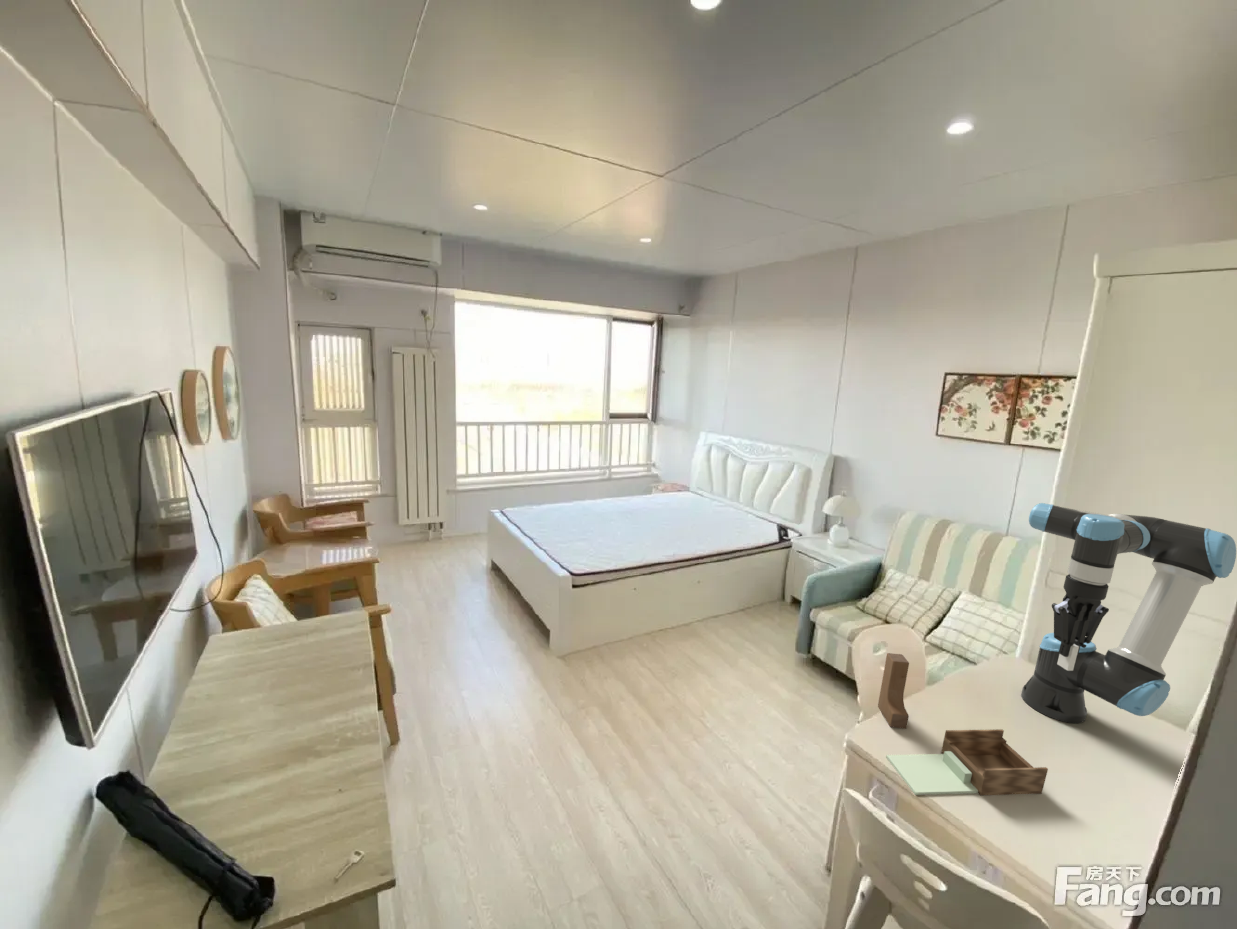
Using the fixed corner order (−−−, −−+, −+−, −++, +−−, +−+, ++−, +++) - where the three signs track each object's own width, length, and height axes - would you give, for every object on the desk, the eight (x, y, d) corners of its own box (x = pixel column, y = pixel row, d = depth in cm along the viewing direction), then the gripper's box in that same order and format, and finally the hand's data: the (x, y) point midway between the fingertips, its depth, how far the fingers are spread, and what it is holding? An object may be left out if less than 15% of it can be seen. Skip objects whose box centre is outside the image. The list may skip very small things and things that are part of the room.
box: (997, 752, 132) (1002, 729, 130) (1041, 793, 119) (1048, 769, 118) (941, 753, 130) (945, 730, 129) (980, 795, 118) (985, 770, 116)
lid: (943, 757, 129) (945, 744, 129) (977, 795, 118) (980, 781, 118) (885, 759, 128) (887, 745, 127) (914, 796, 117) (917, 782, 116)
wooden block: (906, 729, 138) (917, 672, 135) (890, 727, 139) (900, 670, 135) (892, 708, 147) (902, 653, 144) (877, 706, 148) (886, 652, 144)
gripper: (1096, 572, 122) (1074, 658, 126) (1047, 572, 121) (1027, 658, 125) (1129, 586, 114) (1104, 676, 119) (1078, 585, 113) (1055, 676, 118)
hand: (1064, 667), depth 122 cm, fingers closed
